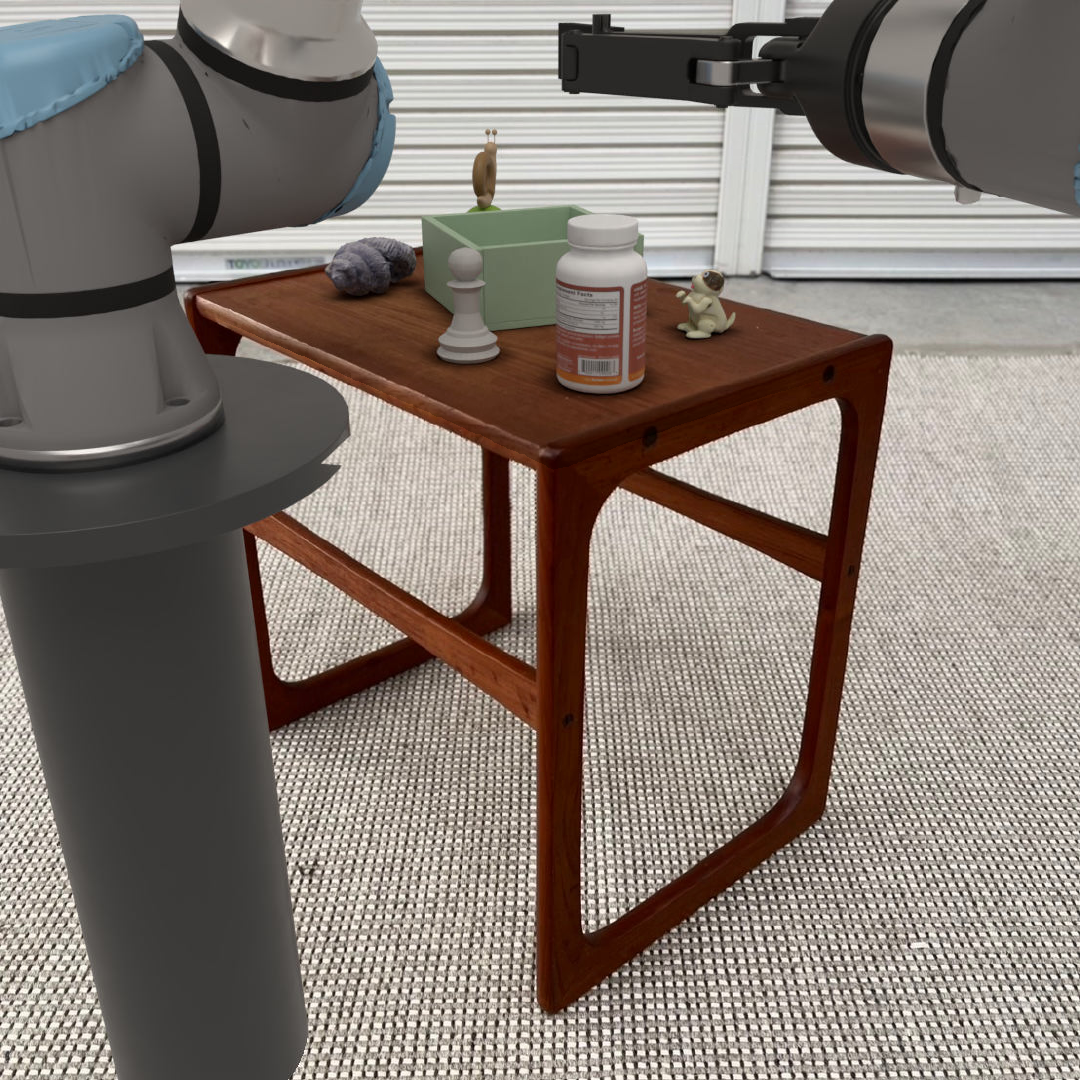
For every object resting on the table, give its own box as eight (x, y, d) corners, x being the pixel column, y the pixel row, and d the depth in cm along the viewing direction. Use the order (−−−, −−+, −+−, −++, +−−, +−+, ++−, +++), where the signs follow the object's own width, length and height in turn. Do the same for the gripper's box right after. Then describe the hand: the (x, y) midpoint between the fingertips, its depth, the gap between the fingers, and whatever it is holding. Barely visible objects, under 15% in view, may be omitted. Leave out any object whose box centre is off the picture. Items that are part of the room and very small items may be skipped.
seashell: (401, 292, 108) (334, 320, 100) (369, 243, 107) (299, 268, 99) (436, 262, 104) (370, 289, 97) (403, 211, 104) (334, 234, 96)
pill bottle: (610, 362, 84) (614, 207, 79) (662, 385, 79) (669, 222, 74) (539, 377, 81) (538, 217, 76) (587, 402, 76) (590, 233, 71)
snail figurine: (520, 253, 117) (519, 129, 111) (507, 267, 111) (505, 137, 106) (468, 251, 118) (464, 128, 112) (453, 265, 112) (448, 136, 107)
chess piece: (424, 358, 85) (418, 249, 82) (460, 342, 89) (457, 237, 85) (476, 368, 83) (473, 257, 79) (511, 351, 86) (510, 244, 83)
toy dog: (672, 327, 92) (675, 265, 90) (732, 326, 92) (736, 264, 90) (678, 339, 89) (681, 276, 87) (740, 339, 89) (744, 275, 87)
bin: (475, 333, 91) (473, 249, 88) (424, 290, 103) (421, 216, 100) (641, 314, 96) (644, 234, 93) (574, 276, 108) (574, 204, 105)
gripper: (640, 197, 42) (464, 131, 60) (1155, 159, 50) (865, 111, 68) (648, -31, 39) (459, -29, 56) (1198, -32, 47) (881, -31, 65)
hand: (680, 47), depth 62 cm, fingers open, 13 cm apart
